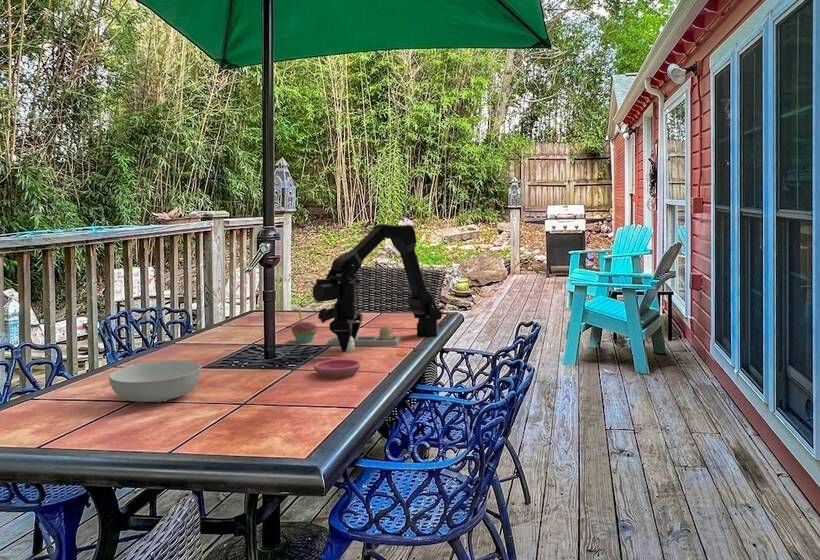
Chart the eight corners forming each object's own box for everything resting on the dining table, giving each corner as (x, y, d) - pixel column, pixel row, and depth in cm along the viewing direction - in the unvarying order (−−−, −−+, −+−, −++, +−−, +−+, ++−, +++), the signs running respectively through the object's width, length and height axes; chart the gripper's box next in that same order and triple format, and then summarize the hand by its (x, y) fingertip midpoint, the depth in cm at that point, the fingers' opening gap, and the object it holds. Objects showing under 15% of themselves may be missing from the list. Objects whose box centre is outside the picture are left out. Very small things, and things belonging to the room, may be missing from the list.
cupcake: (286, 344, 226) (285, 308, 225) (302, 340, 233) (300, 305, 232) (308, 346, 222) (306, 310, 221) (323, 341, 229) (321, 306, 228)
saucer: (304, 375, 183) (304, 364, 183) (341, 367, 192) (340, 356, 191) (333, 383, 174) (333, 371, 174) (370, 374, 183) (369, 362, 183)
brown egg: (394, 341, 223) (393, 325, 223) (391, 344, 219) (391, 327, 218) (381, 341, 224) (380, 325, 223) (378, 344, 219) (377, 327, 219)
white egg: (356, 350, 213) (355, 333, 212) (353, 353, 209) (352, 336, 208) (342, 350, 214) (341, 333, 213) (339, 353, 209) (338, 336, 209)
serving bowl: (93, 401, 162) (91, 373, 162) (171, 382, 179) (170, 356, 178) (141, 416, 149) (139, 385, 149) (220, 394, 166) (219, 366, 165)
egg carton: (401, 342, 225) (401, 336, 225) (397, 347, 217) (396, 341, 216) (335, 341, 228) (335, 336, 228) (328, 346, 220) (328, 340, 220)
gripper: (328, 294, 220) (330, 342, 221) (311, 302, 201) (313, 354, 203) (362, 294, 218) (363, 342, 220) (348, 302, 200) (350, 355, 201)
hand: (347, 348), depth 211 cm, fingers open, 9 cm apart
